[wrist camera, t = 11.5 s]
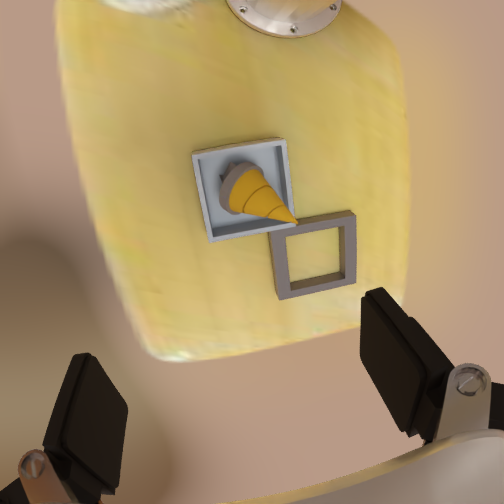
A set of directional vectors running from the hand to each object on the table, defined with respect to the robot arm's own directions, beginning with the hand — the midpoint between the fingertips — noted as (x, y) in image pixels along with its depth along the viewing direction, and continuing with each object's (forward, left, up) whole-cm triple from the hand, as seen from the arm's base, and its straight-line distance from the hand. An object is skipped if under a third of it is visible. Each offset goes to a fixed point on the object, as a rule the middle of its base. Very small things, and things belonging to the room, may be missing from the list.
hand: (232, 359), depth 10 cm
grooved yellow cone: (0, +4, -25) cm, 25 cm away
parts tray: (+1, +3, -25) cm, 26 cm away
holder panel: (+10, +10, -25) cm, 29 cm away
